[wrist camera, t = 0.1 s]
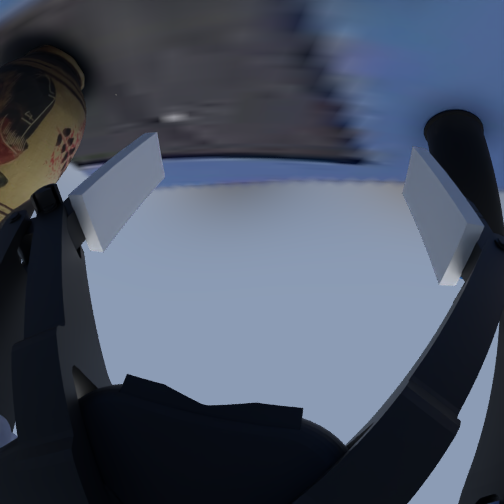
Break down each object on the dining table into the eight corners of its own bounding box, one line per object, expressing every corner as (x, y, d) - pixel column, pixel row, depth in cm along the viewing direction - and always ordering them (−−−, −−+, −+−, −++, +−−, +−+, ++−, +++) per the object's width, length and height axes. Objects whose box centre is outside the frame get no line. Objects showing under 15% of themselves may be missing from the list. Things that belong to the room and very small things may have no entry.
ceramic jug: (0, 87, 24) (-72, 305, 17) (16, 12, 14) (-112, 323, 7) (92, 125, 36) (38, 335, 29) (139, 68, 25) (58, 369, 19)
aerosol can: (468, 100, 22) (504, 293, 17) (490, 138, 26) (515, 301, 21) (411, 124, 29) (425, 299, 24) (441, 155, 33) (453, 306, 28)
